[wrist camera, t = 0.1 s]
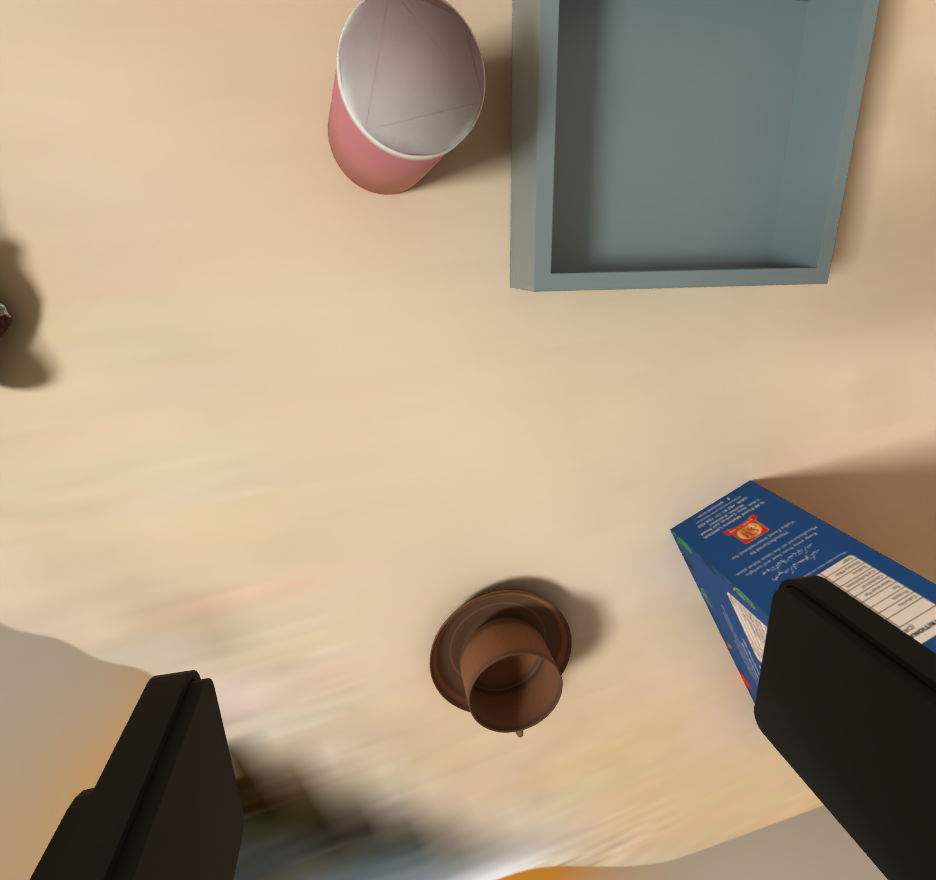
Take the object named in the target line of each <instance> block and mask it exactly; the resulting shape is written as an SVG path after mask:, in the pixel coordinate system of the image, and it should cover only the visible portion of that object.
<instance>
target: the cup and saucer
mask: <svg viewBox="0 0 936 880" xmlns="http://www.w3.org/2000/svg"><path fill="white" fill-rule="evenodd" d="M570 653H571V633H570V629H569V626H568V623H567V621H566V619H565V618H564V616H563V615H562V613H561V612H560V611H559V610H558V609H557V608H556V607H555V606H554V605H553V604H552V603H550V602H549V601H548V600H546V599H544V598H542V597H541V596H538V595H536V594H533V593H530V592H525V591H519V590H503V591H496V592H491V593H487V594H485V595H482V596H479V597H477V598H474V599H472V600H471V601H469V602H467V603H465V604H464V605H462V606H461V607H460V608H458V609H457V610H456V611H455V612H454V613H452V614H451V615H450V616H449V617H448V619H447V620H446V621H445V622H444V623H443V625H442V626H441V628H440V629H439V631H438V633H437V635H436V637H435V639H434V642H433V645H432V649H431V655H430V672H431V676H432V680H433V682H434V684H435V686H436V688H437V690H438V691H439V693H440V694H441V695H442V696H443V697H444V698H445V699H446V700H447V701H448V702H450V703H451V704H452V705H454V706H456V707H458V708H460V709H462V710H465V711H468V712H471V714H472V716H473V718H474V719H475V720H476V721H477V722H478V723H479V724H480V725H482V726H483V727H485V728H487V729H489V730H492V731H496V732H504V733H508V732H516V734H517V736H518V737H520V738H521V737H522V736H523V730H525V729H527V728H530V727H532V726H534V725H536V724H537V723H539V722H541V721H542V720H543V719H545V718H546V717H547V716H548V715H549V714H550V713H551V712H552V711H553V709H554V708H555V706H556V705H557V703H558V701H559V699H560V696H561V693H562V677H561V675H562V673H563V672H564V670H565V668H566V666H567V663H568V660H569V657H570Z"/></svg>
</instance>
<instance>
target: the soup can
mask: <svg viewBox="0 0 936 880" xmlns="http://www.w3.org/2000/svg"><path fill="white" fill-rule="evenodd" d="M336 66H337V67H336V74H335V80H334V87H333V94H332V101H331V107H330V114H329V122H328V137H329V143H330V147H331V150H332V153H333V155H334V158H335V160H336V162H337V163H338V165H339V167H340V168H341V170H342V171H343V172H344V173H345V174H346V176H347V177H348V178H349V179H350V180H352V181H353V182H354V183H355V184H357V185H358V186H360V187H362V188H363V189H365V190H368V191H370V192H373V193H377V194H386V195H387V194H396V193H401V192H403V191H406V190H408V189H410V188H411V187H413V186H414V185H416V184H417V183H418V182H419V181H420V180H421V179H422V178H423V177H424V176H425V175H426V174H427V173H428V172H429V171H430V170H431V169H432V168H433V167H434V166H435V165H436V164H437V163H438V162H439V161H440V160H441V159H442V158H443V157H444V156H445V155H446V154H447V153H448V152H449V151H451V150H452V149H453V148H455V147H456V146H457V145H458V144H459V143H460V142H461V141H462V140H463V139H464V138H465V137H466V136H467V135H468V134H469V132H470V131H471V130H472V128H473V127H474V125H475V123H476V121H477V119H478V117H479V114H480V112H481V109H482V105H483V101H484V95H485V68H484V63H483V58H482V54H481V51H480V48H479V45H478V43H477V40H476V38H475V36H474V34H473V32H472V30H471V29H470V27H469V26H468V24H467V23H466V21H465V20H464V18H463V17H462V16H461V15H460V14H459V13H458V11H457V10H456V9H455V8H453V7H452V6H451V5H450V4H449V3H448V2H447V1H445V0H362V1H361V2H360V3H359V4H358V5H357V6H356V7H355V9H354V10H353V11H352V13H351V14H350V16H349V17H348V19H347V21H346V23H345V25H344V28H343V30H342V33H341V36H340V41H339V45H338V52H337V62H336Z"/></svg>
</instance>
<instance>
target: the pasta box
mask: <svg viewBox="0 0 936 880" xmlns="http://www.w3.org/2000/svg"><path fill="white" fill-rule="evenodd" d="M670 530H671V532H672V534H673V537H674V539H675V541H676V543H677V545H678V547H679V549H680V551H681V553H682V555H683V557H684V559H685V561H686V563H687V565H688V567H689V569H690V572H691V574H692V576H693V578H694V580H695V582H696V584H697V586H698V588H699V590H700V592H701V594H702V596H703V598H704V600H705V602H706V604H707V607H708V609H709V611H710V613H711V615H712V617H713V619H714V621H715V623H716V625H717V627H718V629H719V631H720V633H721V635H722V637H723V639H724V642H725V644H726V646H727V648H728V650H729V652H730V654H731V656H732V658H733V660H734V662H735V664H736V666H737V668H738V670H739V672H740V674H741V677H742V679H743V681H744V683H745V685H746V687H747V689H748V691H749V693H750V695H751V697H752V699H753V701H754V703H755V700H756V694H757V688H758V682H759V676H760V670H761V664H762V657H763V651H764V645H765V639H766V633H767V627H768V621H769V615H770V609H771V603H772V597H773V594H774V592H775V591H776V590H778V588H779V585H780V584H781V583H782V582H783V581H784V580H787V579H792V578H799V577H805V576H812V575H817V576H821V577H823V578H825V579H827V580H828V581H830V582H831V583H833V584H834V585H836V586H837V587H839V588H840V589H842V590H843V591H845V592H846V593H848V594H849V595H851V596H852V597H853V598H855V599H856V600H858V601H859V602H861V603H862V604H864V605H865V606H867V607H868V608H870V609H871V610H873V611H874V612H876V613H877V614H878V615H880V616H881V617H883V618H884V619H886V620H887V621H889V622H890V623H892V624H893V625H895V626H896V627H898V628H899V629H901V630H902V631H903V632H905V633H906V634H908V635H909V636H911V637H912V638H914V639H915V640H917V641H918V642H920V643H921V644H923V645H924V646H926V647H927V648H928V649H930V650H931V651H933V652H934V653H936V584H934V583H932V582H931V581H929V580H927V579H925V578H923V577H922V576H920V575H918V574H916V573H915V572H913V571H911V570H909V569H907V568H906V567H904V566H902V565H900V564H899V563H897V562H895V561H893V560H891V559H890V558H888V557H886V556H884V555H883V554H881V553H879V552H877V551H875V550H874V549H872V548H870V547H868V546H866V545H865V544H863V543H861V542H859V541H858V540H856V539H854V538H852V537H850V536H849V535H847V534H845V533H843V532H842V531H840V530H838V529H836V528H834V527H833V526H831V525H829V524H827V523H826V522H824V521H822V520H820V519H818V518H817V517H815V516H813V515H811V514H810V513H808V512H806V511H804V510H802V509H801V508H799V507H797V506H795V505H794V504H792V503H790V502H788V501H786V500H785V499H783V498H781V497H779V496H778V495H776V494H774V493H772V492H770V491H769V490H767V489H765V488H763V487H761V486H760V485H758V484H756V483H754V482H753V481H751V480H750V481H748V482H747V483H745V484H744V485H742V486H740V487H739V488H737V489H735V490H734V491H732V492H731V493H729V494H727V495H726V496H724V497H722V498H721V499H719V500H718V501H716V502H714V503H713V504H711V505H709V506H708V507H706V508H705V509H703V510H701V511H700V512H698V513H696V514H695V515H693V516H691V517H690V518H688V519H687V520H685V521H683V522H682V523H680V524H678V525H677V526H675V527H674V528H672V529H670Z"/></svg>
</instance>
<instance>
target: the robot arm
mask: <svg viewBox="0 0 936 880" xmlns="http://www.w3.org/2000/svg"><path fill="white" fill-rule="evenodd" d="M754 714H755V719H756V722H757V724H758V726H759V728H760V730H761V731H762V733H763V734H764V735H765V736H766V737H767V739H768V740H769V741H770V742H771V743H772V744H773V746H774V747H775V748H776V749H777V750H778V751H779V753H780V754H781V755H782V756H783V757H784V758H785V760H786V761H787V762H788V763H789V764H790V766H791V767H792V768H793V769H794V770H795V771H796V773H797V774H798V775H799V776H800V777H801V778H802V780H803V781H804V782H805V783H806V784H807V785H808V787H809V788H810V789H811V790H812V791H813V792H814V794H815V795H816V796H817V797H818V798H819V799H820V801H821V802H822V803H823V804H824V805H825V806H826V808H827V809H828V810H829V811H830V812H831V813H832V815H833V816H834V817H835V818H836V819H837V820H838V822H839V823H840V824H841V825H842V826H843V828H844V829H845V830H846V831H847V832H848V833H849V834H850V836H851V837H852V838H853V839H854V840H855V842H856V843H857V844H858V845H859V846H860V847H861V848H862V850H863V851H864V852H865V853H866V854H867V856H868V857H869V858H870V859H871V860H872V861H873V863H874V864H875V865H876V866H877V867H878V868H879V870H880V871H881V872H882V873H883V874H884V875H885V877H886V878H887V879H888V880H936V653H934V652H933V651H931V650H930V649H928V648H927V647H926V646H924V645H923V644H921V643H920V642H918V641H917V640H915V639H914V638H912V637H911V636H909V635H908V634H906V633H905V632H903V631H902V630H901V629H899V628H898V627H896V626H895V625H893V624H892V623H890V622H889V621H887V620H886V619H884V618H883V617H881V616H880V615H878V614H877V613H876V612H874V611H873V610H871V609H870V608H868V607H867V606H865V605H864V604H862V603H861V602H859V601H858V600H856V599H855V598H853V597H852V596H851V595H849V594H848V593H846V592H845V591H843V590H842V589H840V588H839V587H837V586H836V585H834V584H833V583H831V582H830V581H828V580H827V579H825V578H823V577H821V576H817V575H812V576H805V577H799V578H792V579H787V580H784V581H783V582H782V583H781V584H780V585H779V588H778V590H776V591H775V592H774V594H773V597H772V603H771V609H770V615H769V621H768V627H767V633H766V639H765V645H764V651H763V657H762V664H761V670H760V676H759V682H758V688H757V694H756V700H755V706H754ZM242 834H243V810H242V805H241V800H240V796H239V792H238V787H237V783H236V779H235V774H234V770H233V766H232V761H231V757H230V753H229V748H228V744H227V740H226V735H225V731H224V727H223V722H222V718H221V714H220V709H219V705H218V701H217V696H216V692H215V688H214V684H213V681H212V680H211V679H210V678H207V679H201V678H200V675H199V674H198V672H197V671H195V670H191V671H184V672H178V673H171V674H164V675H158V676H154V677H152V678H151V679H150V680H149V682H148V683H147V685H146V687H145V689H144V691H143V693H142V695H141V697H140V699H139V701H138V703H137V705H136V707H135V709H134V711H133V713H132V715H131V717H130V719H129V721H128V723H127V725H126V726H125V729H124V730H123V732H122V734H121V736H120V739H119V741H118V742H117V744H116V746H115V748H114V750H113V752H112V754H111V756H110V758H109V760H108V762H107V764H106V766H105V768H104V770H103V772H102V774H101V776H100V778H99V780H98V782H97V784H96V786H95V788H91V789H87V790H83V791H82V792H81V793H80V794H79V795H78V796H77V797H75V799H74V801H73V802H72V804H71V805H70V806H69V808H68V809H67V811H66V813H65V815H64V817H63V819H62V820H61V822H60V824H59V826H58V828H57V830H56V832H55V834H54V836H53V837H52V839H51V841H50V843H49V845H48V847H47V849H46V850H45V852H44V854H43V856H42V858H41V860H40V862H39V863H38V865H37V867H36V869H35V871H34V873H33V875H32V876H31V878H30V880H233V879H234V874H235V869H236V864H237V859H238V855H239V850H240V845H241V840H242Z"/></svg>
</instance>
